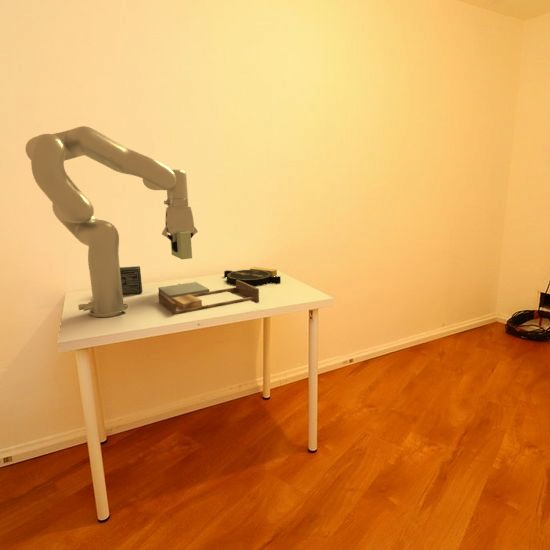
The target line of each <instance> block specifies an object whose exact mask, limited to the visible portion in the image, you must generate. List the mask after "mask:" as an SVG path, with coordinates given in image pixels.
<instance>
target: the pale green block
mask: <svg viewBox="0 0 550 550" xmlns="http://www.w3.org/2000/svg"><path fill="white" fill-rule="evenodd" d="M169 235H170V236H171V234H170V233H169ZM176 242H177V250H178V252H174V251H173V250H172V241H170V250H171V255H172V256H174V257H175V258H178V259H180V260H187V259H188V260H189V259H193V252H192V238H191V232H188V231H185V232H177V234H176Z"/></svg>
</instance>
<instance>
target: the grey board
mask: <svg viewBox="0 0 550 550" xmlns="http://www.w3.org/2000/svg"><path fill="white" fill-rule="evenodd" d="M157 288H158V292H162V293H163V294H165V295H166V296H167V297H169V298H174V297H179V296H184V295H189V294H190V295H193V294H199V293H205V292H210V288H208V287H206V286H204V285H203V284H201V283H199V282H197V281H193V282H188V283H187V282H186V283H180V284H174V285H172V284H171V285H167V286H159V287H157Z"/></svg>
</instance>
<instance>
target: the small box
mask: <svg viewBox="0 0 550 550" xmlns="http://www.w3.org/2000/svg"><path fill="white" fill-rule="evenodd" d="M120 274H121V284H122V293H123V296H128V295H129V296H132V295H141V294H142V292H143V284H142V273H141V266H139V265H137V266H124V267H121V266H120ZM131 294H132V295H131Z"/></svg>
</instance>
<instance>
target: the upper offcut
mask: <svg viewBox="0 0 550 550" xmlns="http://www.w3.org/2000/svg"><path fill="white" fill-rule="evenodd" d="M172 300H173V301H174V302H175V303H176V306H178V307H180V308H182V309H188V308H193V307H197V306H201V305H202V306H203V303H202V302H203V301H202V299H200V298H198V297H194V296H192V295H190V294H189V295H184V296H179V297H174V298H172Z"/></svg>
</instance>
